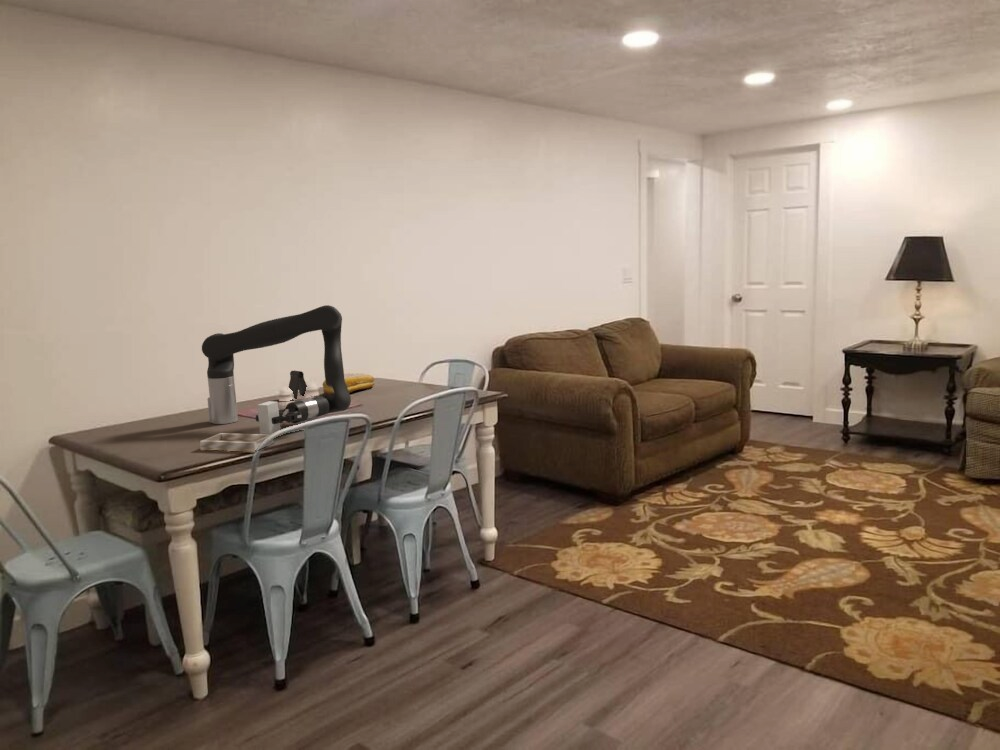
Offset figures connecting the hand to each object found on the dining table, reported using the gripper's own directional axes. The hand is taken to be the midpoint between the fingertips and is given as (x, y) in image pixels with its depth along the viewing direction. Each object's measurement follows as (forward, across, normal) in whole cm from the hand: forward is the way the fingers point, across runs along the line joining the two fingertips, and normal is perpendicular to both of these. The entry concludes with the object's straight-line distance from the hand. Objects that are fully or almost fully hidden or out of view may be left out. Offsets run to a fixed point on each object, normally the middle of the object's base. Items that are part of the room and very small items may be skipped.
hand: (264, 419), depth 253 cm
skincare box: (-2, 0, +7) cm, 7 cm away
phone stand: (-54, -48, +7) cm, 72 cm away
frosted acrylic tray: (+12, +1, +6) cm, 13 cm away
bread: (-75, -39, +7) cm, 85 cm away
